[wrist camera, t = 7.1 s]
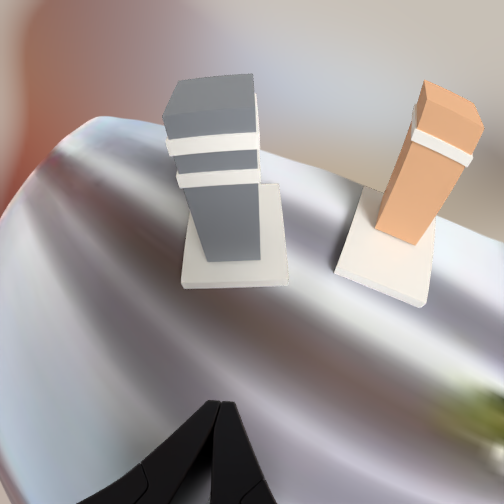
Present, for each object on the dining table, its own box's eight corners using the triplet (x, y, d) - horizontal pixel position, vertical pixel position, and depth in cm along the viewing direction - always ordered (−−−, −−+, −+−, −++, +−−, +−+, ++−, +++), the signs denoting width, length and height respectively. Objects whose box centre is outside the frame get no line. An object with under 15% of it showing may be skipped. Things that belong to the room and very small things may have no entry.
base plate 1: (288, 285, 24) (289, 279, 23) (184, 288, 24) (180, 282, 23) (278, 191, 30) (278, 183, 29) (195, 195, 30) (193, 188, 29)
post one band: (416, 247, 24) (486, 130, 12) (372, 228, 25) (425, 99, 13) (420, 213, 26) (474, 103, 14) (381, 196, 27) (422, 78, 15)
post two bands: (262, 261, 24) (258, 108, 12) (205, 263, 24) (158, 118, 12) (260, 216, 26) (255, 72, 14) (209, 218, 26) (176, 80, 15)
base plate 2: (420, 308, 22) (426, 303, 21) (333, 273, 25) (336, 266, 24) (431, 222, 27) (435, 216, 26) (361, 193, 30) (364, 185, 29)
